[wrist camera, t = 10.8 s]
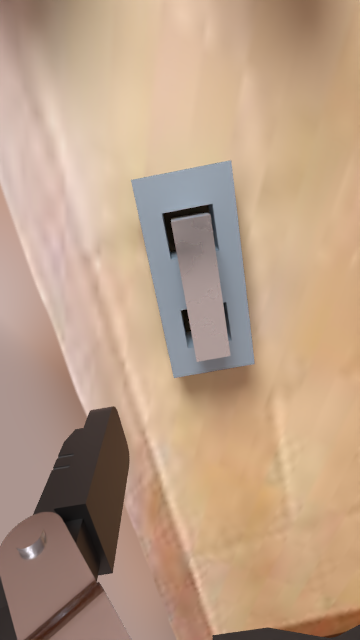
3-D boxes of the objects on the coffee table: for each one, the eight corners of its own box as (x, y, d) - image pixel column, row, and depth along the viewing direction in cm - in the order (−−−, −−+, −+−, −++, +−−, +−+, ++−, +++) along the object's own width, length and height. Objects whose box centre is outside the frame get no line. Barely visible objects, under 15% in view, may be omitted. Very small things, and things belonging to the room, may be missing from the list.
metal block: (200, 209, 28) (210, 214, 21) (217, 321, 31) (230, 355, 25) (170, 214, 28) (171, 222, 21) (190, 326, 31) (196, 361, 25)
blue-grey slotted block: (223, 164, 26) (231, 160, 23) (245, 346, 32) (254, 363, 29) (135, 181, 27) (131, 180, 23) (173, 359, 32) (174, 377, 29)
